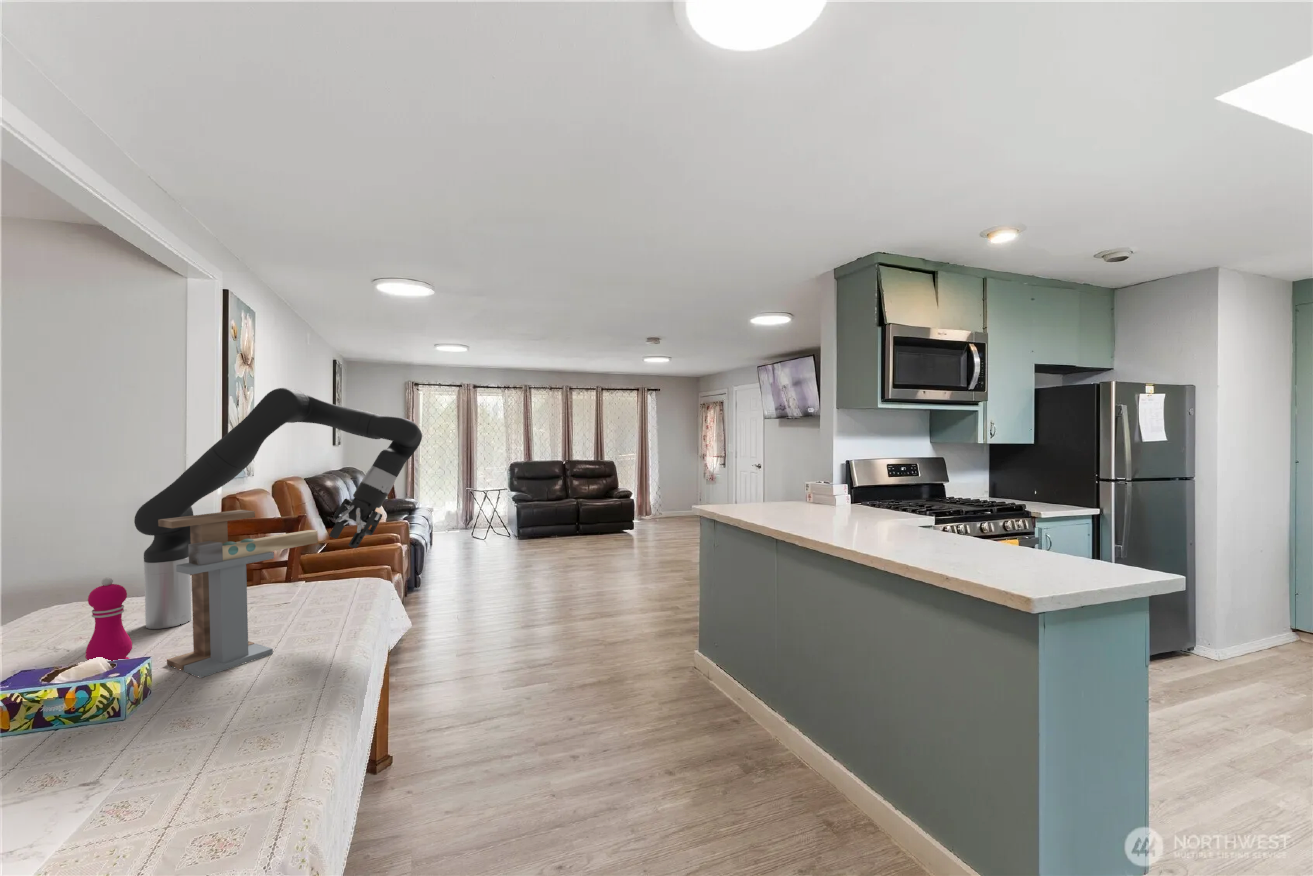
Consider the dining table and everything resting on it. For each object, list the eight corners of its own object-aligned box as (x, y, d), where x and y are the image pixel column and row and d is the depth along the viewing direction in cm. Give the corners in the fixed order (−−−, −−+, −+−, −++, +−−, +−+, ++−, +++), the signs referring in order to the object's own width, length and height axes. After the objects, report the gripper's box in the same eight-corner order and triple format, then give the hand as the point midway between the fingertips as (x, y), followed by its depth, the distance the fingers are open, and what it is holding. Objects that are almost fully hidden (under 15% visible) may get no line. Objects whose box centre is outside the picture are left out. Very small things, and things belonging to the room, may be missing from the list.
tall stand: (161, 666, 123) (157, 519, 122) (243, 641, 137) (240, 509, 137) (176, 672, 120) (172, 521, 119) (259, 646, 134) (256, 511, 133)
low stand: (178, 673, 120) (175, 564, 119) (260, 647, 134) (258, 549, 133) (194, 680, 116) (191, 568, 116) (277, 652, 130) (275, 552, 130)
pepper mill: (103, 679, 117) (100, 583, 117) (76, 676, 118) (73, 581, 118) (141, 665, 124) (139, 573, 124) (115, 662, 126) (113, 572, 125)
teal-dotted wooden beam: (188, 563, 120) (188, 544, 120) (308, 541, 142) (307, 525, 142) (200, 565, 118) (200, 546, 118) (320, 543, 140) (319, 527, 140)
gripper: (348, 475, 154) (314, 530, 149) (381, 488, 147) (347, 546, 142) (369, 485, 160) (338, 538, 155) (402, 498, 153) (369, 554, 148)
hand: (342, 542), depth 149 cm, fingers open, 8 cm apart
